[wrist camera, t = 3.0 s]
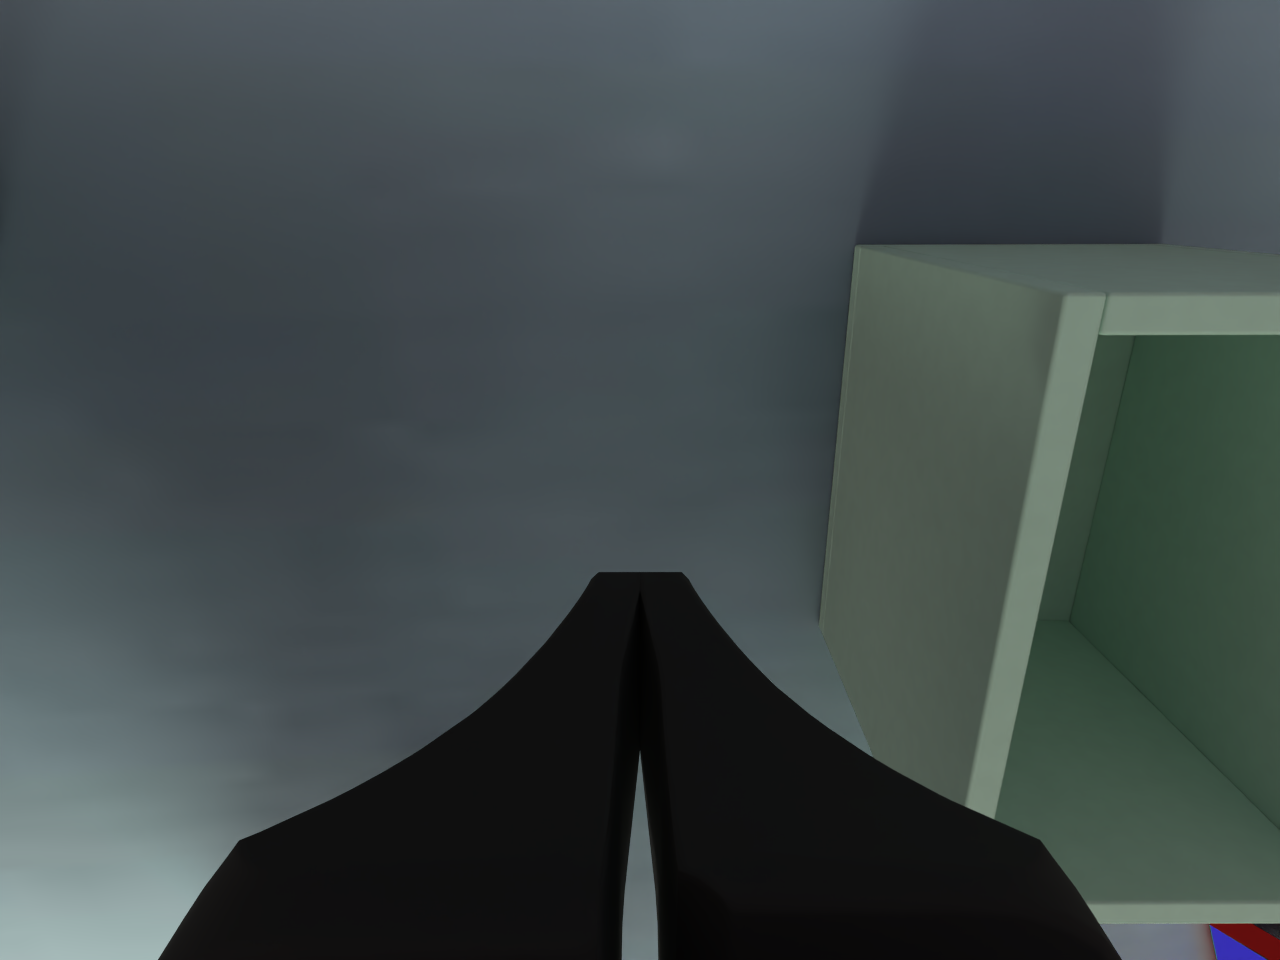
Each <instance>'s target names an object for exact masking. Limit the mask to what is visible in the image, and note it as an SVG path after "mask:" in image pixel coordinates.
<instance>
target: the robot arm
mask: <svg viewBox="0 0 1280 960" xmlns="http://www.w3.org/2000/svg"><path fill="white" fill-rule="evenodd" d="M639 754H641V763H642V772H643V782H644V791H645V800H646V809H647V818H648V827H649V836H650V845H651V855H652V864H653V873H654V882H655V891H656V906H657V921H658V960H1122V959H1121V958H1120V956H1119V955H1118V953H1117V951H1116V950H1115V948H1114V947H1113V945H1112V943H1111V942H1110V940H1109V939H1108V937H1107V936H1106V934H1105V932H1104V931H1103V929H1102V928H1101V926H1100V924H1099V923H1098V921H1097V919H1096V917H1095V916H1094V914H1093V913H1092V911H1091V910H1090V908H1089V907H1088V905H1087V904H1086V902H1085V901H1084V899H1083V898H1082V896H1081V895H1080V893H1079V892H1078V890H1077V888H1076V887H1075V886H1074V884H1073V883H1072V882H1071V880H1070V879H1069V878H1068V876H1067V875H1066V874H1065V872H1064V871H1063V870H1062V868H1061V867H1060V866H1059V865H1058V863H1057V862H1056V861H1055V859H1054V858H1053V857H1052V855H1051V854H1050V852H1049V851H1048V850H1047V848H1046V847H1045V845H1044V844H1043V843H1042V841H1041V840H1040V839H1037V838H1035V837H1033V836H1030V835H1028V834H1026V833H1024V832H1021V831H1019V830H1017V829H1015V828H1012V827H1010V826H1008V825H1006V824H1003V823H1001V822H999V821H997V820H994V819H992V818H990V817H988V816H985V815H983V814H981V813H979V812H976V811H974V810H972V809H970V808H967V807H965V806H963V805H961V804H958V803H956V802H954V801H952V800H950V799H948V798H946V797H944V796H942V795H940V794H938V793H936V792H934V791H932V790H930V789H928V788H927V787H925V786H923V785H921V784H919V783H917V782H915V781H914V780H912V779H910V778H908V777H906V776H904V775H902V774H901V773H899V772H897V771H895V770H893V769H892V768H890V767H888V766H887V765H885V764H883V763H881V762H880V761H878V760H876V759H875V758H873V757H871V756H870V755H868V754H866V753H865V752H863V751H862V750H860V749H859V748H857V747H856V746H854V745H853V744H851V743H850V742H848V741H847V740H845V739H844V738H842V737H841V736H839V735H838V734H836V733H835V732H833V731H832V730H830V729H829V728H828V727H826V726H825V725H823V724H822V723H821V722H819V721H818V720H817V719H815V718H814V717H813V716H811V715H810V714H809V713H807V712H806V711H805V710H804V709H802V708H801V707H800V706H799V705H798V704H796V703H795V702H794V701H793V700H792V699H790V698H789V697H788V696H787V695H786V694H784V693H783V692H782V691H781V690H780V689H778V688H777V687H776V686H775V685H774V684H773V683H772V682H771V681H770V680H769V679H768V678H767V677H766V676H765V675H764V674H763V673H762V672H761V671H760V670H759V669H758V668H757V667H756V666H755V665H754V664H753V663H752V662H751V661H750V660H749V659H748V658H747V656H746V655H745V654H744V653H743V652H742V651H741V650H740V649H739V648H738V646H737V645H736V644H735V643H734V642H733V640H732V639H731V638H730V637H729V636H728V634H727V633H726V632H725V631H724V630H723V628H722V627H721V626H720V625H719V623H718V622H717V621H716V620H715V618H714V617H713V616H712V614H711V613H710V611H709V610H708V609H707V607H706V606H705V605H704V603H703V602H702V600H701V599H700V597H699V596H698V594H697V593H696V591H695V590H694V588H693V586H692V585H691V583H690V581H689V579H688V578H687V577H686V576H685V575H684V574H683V573H682V572H599V573H597V574H596V575H595V576H594V577H593V578H592V579H591V581H590V582H589V584H588V586H587V588H586V589H585V591H584V592H583V594H582V595H581V597H580V598H579V600H578V601H577V603H576V604H575V606H574V607H573V608H572V610H571V611H570V612H569V614H568V615H567V616H566V618H565V619H564V620H563V621H562V623H561V624H560V625H559V626H558V628H557V629H556V630H555V632H554V633H553V634H552V635H551V637H550V638H549V639H548V640H547V641H546V643H545V644H544V645H543V646H542V647H541V648H540V649H539V650H538V651H537V652H536V654H535V655H534V656H533V657H532V658H531V659H530V660H529V661H528V662H527V663H526V664H525V665H524V666H523V667H522V669H521V670H520V671H519V672H518V673H517V674H516V675H515V676H514V677H513V678H512V679H511V680H510V681H509V682H508V683H507V684H505V685H504V686H503V687H502V688H501V689H500V690H499V691H498V692H497V693H496V694H495V695H494V696H492V697H491V698H490V699H489V700H488V701H487V702H485V703H484V704H483V705H482V706H481V707H480V708H478V709H477V710H476V711H475V712H473V713H472V714H471V715H470V716H468V717H467V718H465V719H464V720H462V721H461V722H460V723H458V724H457V725H455V726H454V727H452V728H451V729H449V730H448V731H447V732H445V733H444V734H442V735H441V736H439V737H438V738H437V739H435V740H434V741H432V742H431V743H429V744H428V745H427V746H425V747H424V748H422V749H421V750H419V751H418V752H416V753H414V754H413V755H411V756H410V757H408V758H406V759H404V760H403V761H401V762H399V763H398V764H396V765H394V766H393V767H391V768H389V769H388V770H386V771H384V772H382V773H381V774H379V775H377V776H375V777H373V778H371V779H370V780H368V781H366V782H364V783H362V784H360V785H359V786H357V787H355V788H353V789H351V790H349V791H347V792H345V793H343V794H341V795H339V796H337V797H335V798H333V799H331V800H329V801H327V802H325V803H323V804H321V805H318V806H316V807H314V808H312V809H310V810H307V811H305V812H303V813H301V814H299V815H296V816H294V817H292V818H290V819H288V820H285V821H283V822H281V823H279V824H277V825H274V826H272V827H270V828H268V829H266V830H263V831H261V832H259V833H256V834H254V835H252V836H249V837H247V838H244V839H242V840H239V841H238V843H237V844H236V846H235V847H234V848H233V850H232V851H231V853H230V854H229V855H228V857H227V858H226V859H225V861H224V862H223V863H222V865H221V866H220V867H219V869H218V870H217V871H216V873H215V874H214V875H213V876H212V878H211V879H210V880H209V882H208V883H207V884H206V886H205V887H204V889H203V890H202V892H201V893H200V895H199V896H198V898H197V899H196V901H195V902H194V904H193V905H192V907H191V908H190V910H189V911H188V913H187V914H186V916H185V918H184V919H183V921H182V922H181V924H180V926H179V927H178V929H177V930H176V932H175V934H174V935H173V937H172V938H171V940H170V941H169V943H168V945H167V946H166V948H165V949H164V951H163V953H162V954H161V956H160V957H159V959H158V960H622V921H623V906H624V892H625V882H626V873H627V864H628V855H629V846H630V837H631V827H632V818H633V809H634V800H635V791H636V782H637V773H638V763H639Z"/></svg>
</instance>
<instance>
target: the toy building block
mask: <svg viewBox="0 0 1280 960" xmlns="http://www.w3.org/2000/svg"><path fill="white" fill-rule="evenodd" d="M1209 926H1210V931H1211V935H1212V940H1213V945H1214V950H1215V954H1216V959H1217V960H1280V940H1279V939H1277V938H1275V937H1274V936H1272V935H1270V934H1269V933H1267V932H1265V931H1263V930H1262V929H1260V928H1258V927H1257V926H1255V925H1253V924H1251V923H1210V924H1209Z"/></svg>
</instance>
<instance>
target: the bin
mask: <svg viewBox="0 0 1280 960" xmlns="http://www.w3.org/2000/svg"><path fill="white" fill-rule="evenodd" d="M819 627H820V630H821V632H822V634H823V637H824V639H825V642H826V644H827V646H828V649H829V651H830V654H831V656H832V658H833V661H834V663H835V666H836V668H837V670H838V673H839V675H840V678H841V680H842V682H843V685H844V687H845V690H846V692H847V694H848V697H849V699H850V702H851V704H852V706H853V709H854V711H855V714H856V716H857V718H858V721H859V723H860V726H861V728H862V730H863V733H864V735H865V738H866V740H867V742H868V745H869V747H870V750H871V752H872V754H873V757H874V758H875V759H876V760H878V761H880V762H881V763H883V764H885V765H887V766H888V767H890V768H892V769H893V770H895V771H897V772H899V773H901V774H902V775H904V776H906V777H908V778H910V779H912V780H914V781H915V782H917V783H919V784H921V785H923V786H925V787H927V788H928V789H930V790H932V791H934V792H936V793H938V794H940V795H942V796H944V797H946V798H948V799H950V800H952V801H954V802H956V803H958V804H961V805H963V806H965V807H967V808H970V809H972V810H974V811H976V812H979V813H981V814H983V815H985V816H988V817H990V818H992V819H994V820H997V821H999V822H1001V823H1003V824H1006V825H1008V826H1010V827H1012V828H1015V829H1017V830H1019V831H1021V832H1024V833H1026V834H1028V835H1030V836H1033V837H1035V838H1037V839H1040V840H1041V841H1042V843H1043V844H1044V845H1045V847H1046V848H1047V850H1048V851H1049V852H1050V854H1051V855H1052V857H1053V858H1054V859H1055V861H1056V862H1057V863H1058V865H1059V866H1060V867H1061V868H1062V870H1063V871H1064V872H1065V874H1066V875H1067V876H1068V878H1069V879H1070V880H1071V882H1072V883H1073V884H1074V886H1075V887H1076V888H1077V890H1078V892H1079V893H1080V895H1081V896H1082V898H1083V899H1084V901H1085V902H1086V904H1087V905H1088V907H1089V908H1090V910H1091V911H1092V913H1093V914H1094V916H1095V917H1096V919H1097V921H1098V923H1099V924H1191V923H1280V255H1278V254H1267V253H1256V252H1245V251H1234V250H1223V249H1212V248H1201V247H1190V246H1179V245H1169V244H935V245H856V246H855V251H854V262H853V272H852V283H851V293H850V304H849V314H848V325H847V335H846V346H845V356H844V367H843V377H842V388H841V398H840V409H839V419H838V430H837V440H836V451H835V461H834V472H833V482H832V493H831V503H830V514H829V524H828V534H827V545H826V555H825V566H824V576H823V587H822V597H821V608H820V618H819Z"/></svg>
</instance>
